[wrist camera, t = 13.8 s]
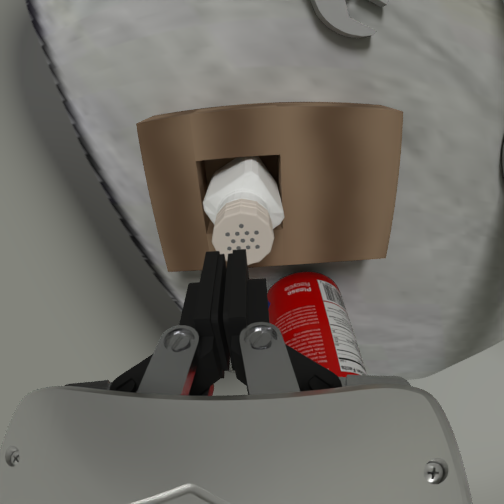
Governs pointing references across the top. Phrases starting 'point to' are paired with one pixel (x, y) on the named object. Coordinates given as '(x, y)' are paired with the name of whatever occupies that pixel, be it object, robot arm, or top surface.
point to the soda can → (315, 321)
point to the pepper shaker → (243, 208)
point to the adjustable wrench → (343, 17)
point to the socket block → (279, 176)
